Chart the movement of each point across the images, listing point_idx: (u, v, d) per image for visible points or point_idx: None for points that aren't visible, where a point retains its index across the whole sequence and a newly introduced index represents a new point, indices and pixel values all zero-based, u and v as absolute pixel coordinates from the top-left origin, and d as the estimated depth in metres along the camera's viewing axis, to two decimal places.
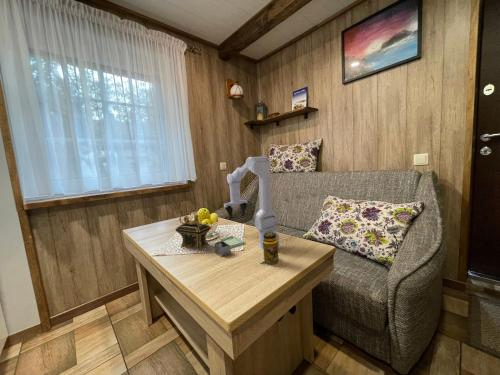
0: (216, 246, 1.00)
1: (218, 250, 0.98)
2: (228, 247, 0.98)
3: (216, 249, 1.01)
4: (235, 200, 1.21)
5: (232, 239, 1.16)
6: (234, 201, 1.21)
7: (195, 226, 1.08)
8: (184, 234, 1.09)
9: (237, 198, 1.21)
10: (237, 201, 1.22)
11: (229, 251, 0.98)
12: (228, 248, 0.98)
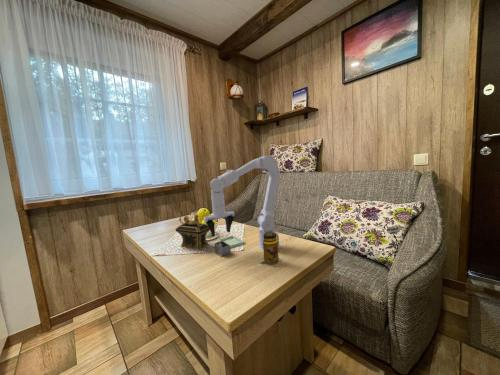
0: (216, 246, 1.00)
1: (218, 250, 0.98)
2: (228, 247, 0.98)
3: (216, 249, 1.01)
4: (218, 213, 0.95)
5: (232, 239, 1.16)
6: (217, 214, 0.95)
7: (195, 226, 1.08)
8: (184, 234, 1.09)
9: (221, 210, 0.96)
10: (221, 214, 0.96)
11: (229, 251, 0.98)
12: (228, 248, 0.98)
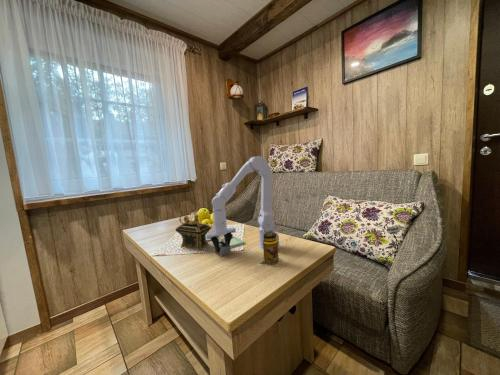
0: None
1: None
2: (228, 247, 0.98)
3: None
4: (220, 230, 0.96)
5: (232, 239, 1.16)
6: (218, 231, 0.96)
7: (195, 226, 1.08)
8: (184, 234, 1.09)
9: (222, 228, 0.97)
10: (222, 231, 0.97)
11: (229, 251, 0.98)
12: (228, 248, 0.98)
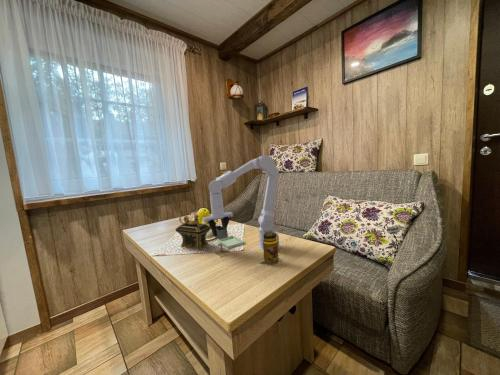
0: None
1: (216, 234, 0.99)
2: (225, 230, 0.99)
3: None
4: (217, 213, 0.97)
5: (232, 239, 1.16)
6: (215, 215, 0.97)
7: (195, 226, 1.08)
8: (184, 234, 1.09)
9: (219, 211, 0.98)
10: (219, 215, 0.98)
11: (226, 234, 0.99)
12: (225, 231, 0.99)
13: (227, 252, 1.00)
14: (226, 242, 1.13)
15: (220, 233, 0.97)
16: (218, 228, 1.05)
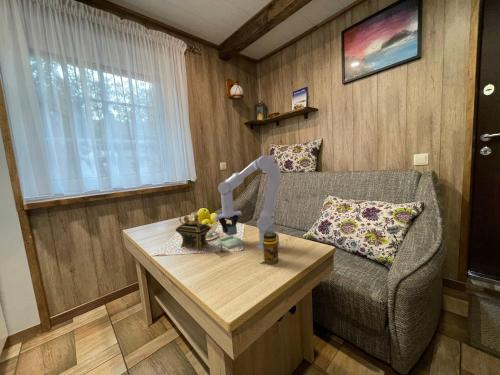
0: None
1: None
2: (235, 227, 1.08)
3: None
4: (227, 212, 1.07)
5: (232, 239, 1.16)
6: (226, 213, 1.07)
7: (195, 226, 1.08)
8: (184, 234, 1.09)
9: (229, 210, 1.07)
10: (229, 213, 1.07)
11: (235, 231, 1.09)
12: (235, 228, 1.08)
13: (227, 252, 1.00)
14: (226, 242, 1.13)
15: (230, 230, 1.07)
16: (228, 225, 1.15)
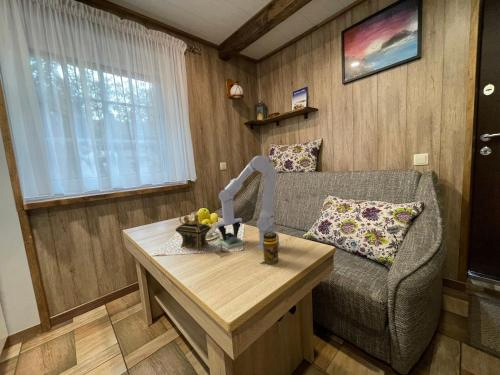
0: None
1: (227, 240, 1.10)
2: (235, 237, 1.09)
3: (224, 240, 1.12)
4: (228, 220, 1.08)
5: None
6: (227, 221, 1.08)
7: (195, 226, 1.08)
8: (184, 234, 1.09)
9: (230, 217, 1.08)
10: (230, 221, 1.08)
11: (236, 241, 1.09)
12: (235, 238, 1.09)
13: (227, 252, 1.00)
14: None
15: (231, 240, 1.08)
16: (229, 235, 1.15)
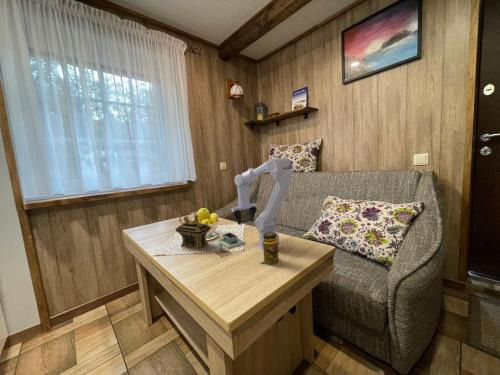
0: (224, 237, 1.12)
1: (227, 240, 1.10)
2: (235, 237, 1.09)
3: (224, 240, 1.12)
4: (244, 204, 1.09)
5: None
6: (243, 205, 1.09)
7: (195, 226, 1.08)
8: (184, 234, 1.09)
9: (246, 202, 1.09)
10: (246, 205, 1.10)
11: (236, 241, 1.09)
12: (235, 238, 1.09)
13: (227, 252, 1.00)
14: None
15: (231, 240, 1.08)
16: (229, 235, 1.15)
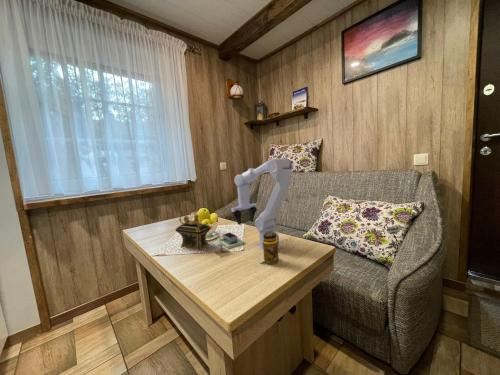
0: (224, 237, 1.12)
1: (227, 240, 1.10)
2: (235, 237, 1.09)
3: (224, 240, 1.12)
4: (244, 204, 1.09)
5: None
6: (243, 205, 1.09)
7: (195, 226, 1.08)
8: (184, 234, 1.09)
9: (246, 202, 1.09)
10: (246, 205, 1.10)
11: (236, 241, 1.09)
12: (235, 238, 1.09)
13: (227, 252, 1.00)
14: None
15: (231, 240, 1.08)
16: (229, 235, 1.15)
